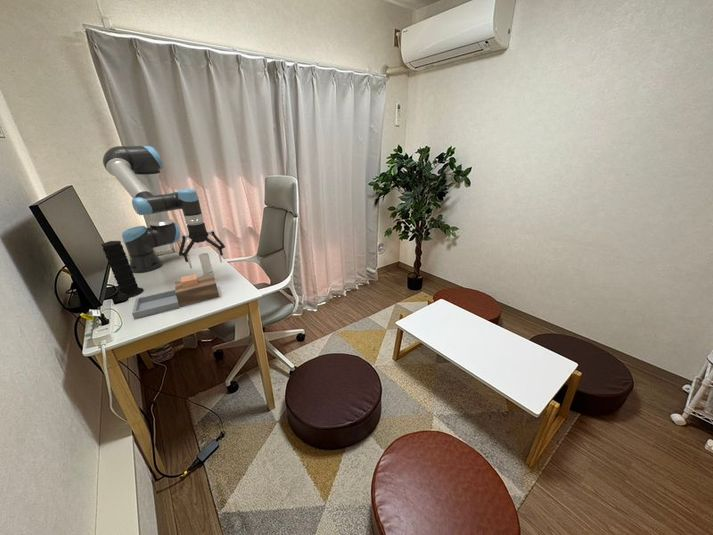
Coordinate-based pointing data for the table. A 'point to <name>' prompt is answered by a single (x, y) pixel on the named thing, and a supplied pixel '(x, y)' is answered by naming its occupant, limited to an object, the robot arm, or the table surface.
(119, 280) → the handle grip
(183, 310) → the table surface
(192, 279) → the terracotta tile
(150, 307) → the box
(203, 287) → the walnut ledge
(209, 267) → the tube
